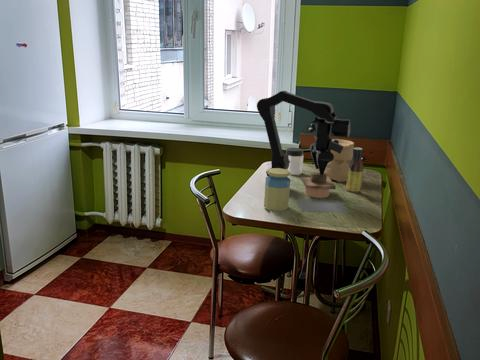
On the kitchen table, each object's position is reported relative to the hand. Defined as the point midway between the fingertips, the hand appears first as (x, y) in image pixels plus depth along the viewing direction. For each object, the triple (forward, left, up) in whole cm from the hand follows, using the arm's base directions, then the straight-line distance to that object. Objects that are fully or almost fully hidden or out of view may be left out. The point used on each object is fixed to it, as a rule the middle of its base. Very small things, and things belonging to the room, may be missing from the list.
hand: (319, 171), depth 183 cm
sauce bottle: (+17, +6, -11) cm, 21 cm away
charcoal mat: (-1, -15, -11) cm, 18 cm away
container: (+15, +28, -11) cm, 34 cm away
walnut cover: (0, 0, -6) cm, 6 cm away
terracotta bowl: (0, 0, -11) cm, 11 cm away
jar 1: (-19, -18, -11) cm, 28 cm away
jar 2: (-5, +35, -11) cm, 37 cm away
